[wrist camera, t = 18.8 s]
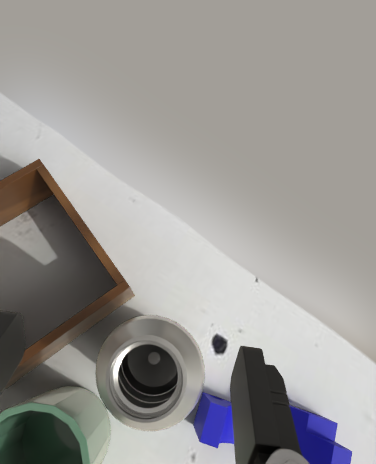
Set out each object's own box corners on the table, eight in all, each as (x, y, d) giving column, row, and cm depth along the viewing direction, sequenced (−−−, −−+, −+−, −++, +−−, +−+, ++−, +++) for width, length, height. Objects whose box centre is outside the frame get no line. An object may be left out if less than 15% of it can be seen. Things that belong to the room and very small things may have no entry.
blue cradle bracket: (322, 416, 34) (355, 431, 28) (313, 467, 33) (345, 493, 27) (207, 376, 34) (215, 382, 29) (193, 424, 33) (199, 441, 27)
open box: (-68, 258, 36) (-111, 243, 30) (57, 185, 39) (39, 158, 34) (7, 388, 33) (-26, 397, 27) (134, 295, 36) (129, 287, 31)
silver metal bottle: (150, 310, 36) (138, 275, 17) (200, 355, 35) (247, 370, 16) (107, 361, 34) (38, 385, 15) (158, 409, 33) (154, 500, 14)
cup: (3, 425, 32) (-65, 460, 22) (80, 367, 34) (48, 377, 24) (49, 508, 30) (-3, 585, 21) (128, 442, 32) (113, 484, 23)
